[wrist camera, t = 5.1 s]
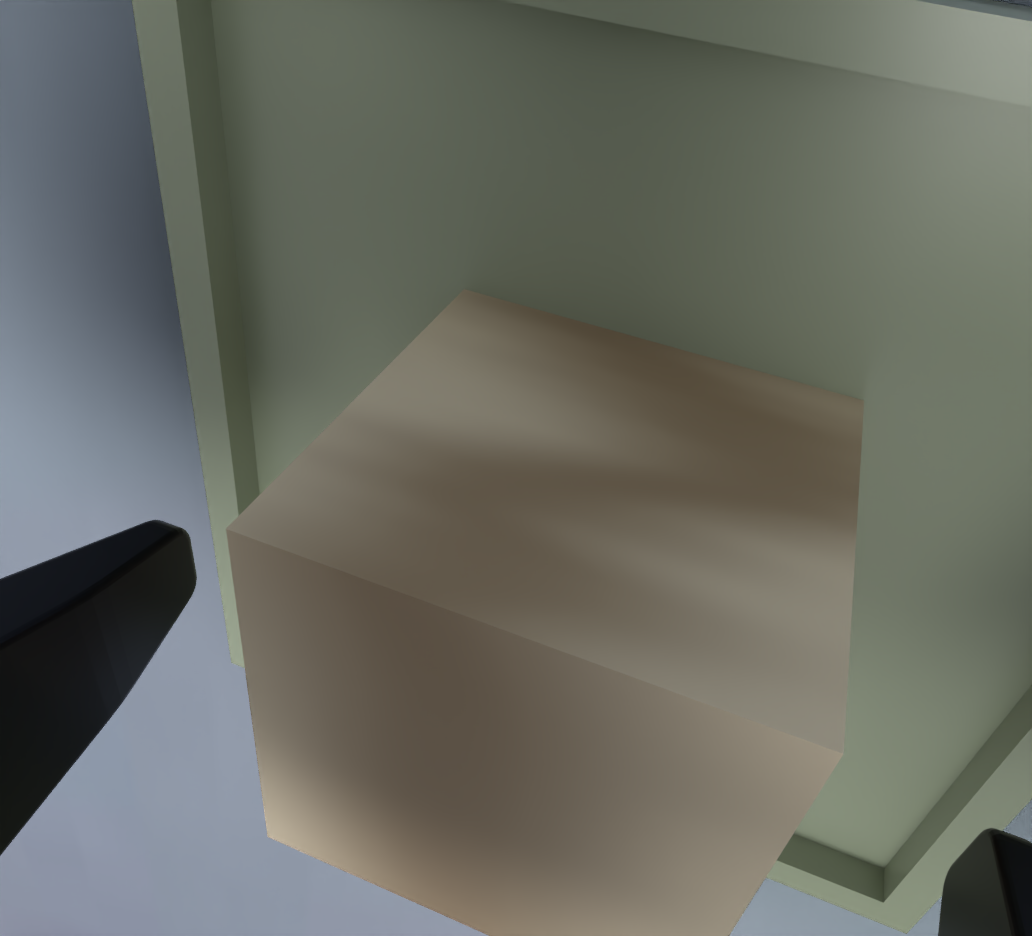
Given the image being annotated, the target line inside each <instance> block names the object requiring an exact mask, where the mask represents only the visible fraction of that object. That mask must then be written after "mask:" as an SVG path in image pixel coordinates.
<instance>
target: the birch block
mask: <svg viewBox="0 0 1032 936" xmlns="http://www.w3.org/2000/svg"><path fill="white" fill-rule="evenodd" d="M863 412H864V400H860V399H857V398H853V397H850V396H846V395H842V394H839V393H835V392H832V391H828V390H824V389H821V388H817V387H814V386H810V385H807V384H803V383H799V382H796V381H792V380H789V379H785V378H781V377H778V376H774V375H771V374H767V373H763V372H760V371H756V370H753V369H749V368H746V367H742V366H738V365H735V364H731V363H728V362H724V361H720V360H717V359H713V358H710V357H706V356H702V355H699V354H695V353H692V352H688V351H684V350H681V349H677V348H674V347H670V346H667V345H663V344H659V343H656V342H652V341H649V340H645V339H641V338H638V337H634V336H631V335H627V334H623V333H620V332H616V331H613V330H609V329H606V328H602V327H598V326H595V325H591V324H588V323H584V322H580V321H577V320H573V319H570V318H566V317H562V316H559V315H555V314H552V313H548V312H545V311H541V310H537V309H534V308H530V307H527V306H523V305H519V304H516V303H512V302H509V301H505V300H501V299H498V298H494V297H491V296H487V295H484V294H480V293H476V292H473V291H469V290H466V289H464V290H463V291H462V292H461V293H460V294H459V295H458V296H457V297H456V298H455V299H454V300H453V301H452V302H451V303H450V304H449V305H448V306H447V307H446V308H445V309H444V310H443V311H442V312H441V313H440V314H439V315H438V316H437V317H436V318H435V319H434V320H433V321H432V322H431V323H430V324H429V325H428V326H427V327H426V328H425V329H424V330H423V331H422V332H421V333H420V334H419V335H418V336H417V337H416V338H415V339H414V340H413V341H412V342H411V343H410V344H409V345H408V346H407V347H406V348H405V349H404V350H403V351H402V352H401V353H400V354H399V355H398V356H397V357H396V358H395V359H394V360H393V361H392V362H391V363H390V364H389V365H388V366H387V367H386V368H385V369H384V370H383V371H382V372H381V373H380V374H379V375H378V376H377V377H376V378H375V379H374V380H373V381H372V382H371V383H370V384H369V385H368V386H367V387H366V388H365V389H364V390H363V391H362V392H361V393H360V394H359V395H358V396H357V397H356V398H355V399H354V400H353V401H352V402H351V403H350V404H349V405H348V406H347V407H346V408H345V409H344V410H343V411H342V413H341V414H340V415H339V416H338V417H337V418H336V419H335V420H334V421H333V422H332V423H331V424H330V425H329V426H328V427H327V428H326V429H325V430H324V431H323V432H322V433H321V434H320V435H319V436H318V437H317V438H316V439H315V440H314V441H313V442H312V443H311V444H310V445H309V446H308V447H307V448H306V449H305V450H304V451H303V452H302V453H301V454H300V455H299V456H298V457H297V458H296V459H295V460H294V461H293V462H292V463H291V464H290V465H289V466H288V467H287V468H286V469H285V470H284V471H283V472H282V473H281V474H280V475H279V476H278V477H277V478H276V479H275V480H274V481H273V482H272V483H271V484H270V485H269V486H268V487H267V488H266V489H265V490H264V491H263V492H262V493H261V494H260V495H259V496H258V497H257V498H256V499H255V500H254V501H253V502H252V503H251V504H250V505H249V506H248V507H247V508H246V509H245V510H244V511H243V512H242V513H241V514H240V515H239V516H238V517H237V518H236V519H235V520H234V521H233V522H232V523H231V524H230V525H229V526H228V527H227V528H226V533H227V541H228V548H229V555H230V563H231V570H232V577H233V585H234V592H235V599H236V607H237V614H238V622H239V629H240V636H241V644H242V651H243V658H244V666H245V673H246V680H247V688H248V695H249V702H250V710H251V717H252V725H253V732H254V739H255V747H256V754H257V761H258V769H259V776H260V783H261V791H262V798H263V805H264V813H265V820H266V828H267V835H268V837H269V838H271V839H274V840H276V841H278V842H280V843H283V844H285V845H287V846H289V847H292V848H294V849H296V850H298V851H301V852H303V853H305V854H307V855H310V856H312V857H314V858H316V859H319V860H321V861H323V862H325V863H328V864H330V865H332V866H334V867H337V868H339V869H341V870H343V871H345V872H348V873H350V874H352V875H354V876H357V877H359V878H361V879H363V880H366V881H368V882H370V883H372V884H375V885H377V886H379V887H381V888H384V889H386V890H388V891H390V892H393V893H395V894H397V895H399V896H402V897H404V898H406V899H408V900H411V901H413V902H415V903H417V904H420V905H422V906H424V907H426V908H428V909H431V910H433V911H435V912H437V913H440V914H442V915H444V916H446V917H449V918H451V919H453V920H455V921H458V922H460V923H462V924H464V925H467V926H469V927H471V928H473V929H476V930H478V931H480V932H482V933H485V934H487V935H489V936H729V935H730V933H731V932H732V930H733V929H734V927H735V926H736V924H737V922H738V921H739V919H740V918H741V916H742V914H743V913H744V911H745V910H746V908H747V907H748V905H749V903H750V902H751V900H752V899H753V897H754V895H755V894H756V892H757V891H758V889H759V887H760V886H761V884H762V883H763V881H764V880H765V878H766V876H767V875H768V873H769V872H770V870H771V868H772V867H773V865H774V864H775V862H776V860H777V859H778V857H779V856H780V854H781V853H782V851H783V849H784V848H785V846H786V845H787V843H788V841H789V840H790V838H791V837H792V835H793V834H794V832H795V830H796V829H797V827H798V826H799V824H800V822H801V821H802V819H803V818H804V816H805V814H806V813H807V811H808V810H809V808H810V807H811V805H812V803H813V802H814V800H815V799H816V797H817V795H818V794H819V792H820V791H821V789H822V788H823V786H824V784H825V783H826V781H827V780H828V778H829V776H830V775H831V773H832V772H833V770H834V768H835V767H836V765H837V764H838V762H839V761H840V759H841V757H842V756H843V754H844V739H845V722H846V704H847V687H848V670H849V653H850V636H851V618H852V601H853V584H854V567H855V549H856V532H857V515H858V498H859V481H860V463H861V446H862V429H863Z"/></svg>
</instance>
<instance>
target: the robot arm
mask: <svg viewBox="0 0 1032 936" xmlns="http://www.w3.org/2000/svg"><path fill="white" fill-rule="evenodd" d="M196 580H197V576H196V569H195V563H194V558H193V552H192V546H191V540H190V537H189V534H188V533H187V532H186V531H185V530H184V529H182V528H180V527H177V526H174V525H172V524H169V523H166V522H164V521H160V520H152V521H148V522H145V523H142V524H140V525H137V526H134V527H132V528H129V529H127V530H124V531H122V532H119V533H117V534H114V535H111V536H109V537H106V538H104V539H101V540H99V541H96V542H93V543H91V544H88V545H86V546H83V547H81V548H78V549H76V550H73V551H70V552H68V553H65V554H63V555H60V556H58V557H55V558H52V559H50V560H47V561H45V562H42V563H40V564H37V565H35V566H32V567H29V568H27V569H24V570H22V571H19V572H17V573H14V574H11V575H9V576H6V577H4V578H1V579H0V855H1V854H2V853H3V852H4V850H5V849H6V848H7V847H8V845H9V844H10V843H11V842H12V840H13V839H14V838H15V837H16V835H17V834H18V833H19V832H20V830H21V829H22V828H23V827H24V825H25V824H26V823H27V822H28V821H29V819H30V818H31V817H32V816H33V814H34V813H35V812H36V811H37V809H38V808H39V807H40V806H41V804H42V803H43V802H44V801H45V799H46V798H47V797H48V796H49V794H50V793H51V792H52V791H53V789H54V788H55V787H56V786H57V784H58V783H59V782H60V781H61V779H62V778H63V777H64V776H65V774H66V773H67V772H68V771H69V769H70V768H71V767H72V766H73V764H74V763H75V762H76V761H77V759H78V758H79V757H80V756H81V754H82V753H83V752H84V751H85V749H86V748H87V747H88V746H89V744H90V743H91V742H92V741H93V739H94V738H95V737H96V736H97V734H98V733H99V732H100V731H101V729H102V728H103V727H104V726H105V724H106V723H107V722H108V721H109V719H110V718H111V717H112V715H113V714H114V713H115V711H116V710H117V709H118V708H119V706H120V705H121V704H122V702H123V701H124V699H125V698H126V697H127V695H128V694H129V692H130V691H131V689H132V688H133V686H134V685H135V683H136V682H137V680H138V679H139V677H140V676H141V674H142V672H143V671H144V669H145V668H146V666H147V665H148V663H149V662H150V660H151V659H152V657H153V655H154V654H155V652H156V651H157V649H158V648H159V646H160V645H161V643H162V641H163V640H164V638H165V637H166V635H167V634H168V632H169V631H170V629H171V628H172V626H173V624H174V623H175V621H176V620H177V618H178V617H179V615H180V614H181V612H182V610H183V609H184V607H185V606H186V604H187V603H188V601H189V600H190V598H191V596H192V594H193V592H194V589H195V586H196ZM938 936H1032V843H1031V842H1029V841H1027V840H1025V839H1023V838H1020V837H1017V836H1015V835H1012V834H1009V833H1006V832H1004V831H1001V830H998V829H995V828H989V829H985V830H983V831H982V832H981V833H980V834H979V835H978V836H977V837H976V838H975V839H974V840H973V842H972V843H971V844H970V845H969V846H968V847H967V848H966V849H965V850H964V852H963V853H962V854H961V855H960V856H959V857H958V858H957V859H956V860H955V862H954V863H953V864H952V865H951V867H950V868H949V870H948V872H947V875H946V878H945V881H944V885H943V893H942V903H941V913H940V922H939V932H938Z"/></svg>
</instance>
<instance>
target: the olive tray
mask: <svg viewBox="0 0 1032 936" xmlns="http://www.w3.org/2000/svg"><path fill="white" fill-rule="evenodd" d="M132 6H133V13H134V19H135V26H136V33H137V39H138V46H139V53H140V59H141V66H142V72H143V79H144V86H145V92H146V99H147V106H148V112H149V119H150V126H151V132H152V139H153V145H154V152H155V159H156V165H157V172H158V179H159V185H160V192H161V199H162V205H163V212H164V218H165V225H166V232H167V238H168V245H169V252H170V258H171V265H172V272H173V278H174V285H175V291H176V298H177V305H178V311H179V318H180V325H181V331H182V338H183V345H184V351H185V358H186V364H187V371H188V378H189V384H190V391H191V398H192V404H193V411H194V418H195V424H196V431H197V437H198V444H199V451H200V457H201V464H202V471H203V477H204V484H205V491H206V497H207V504H208V510H209V517H210V524H211V530H212V537H213V544H214V550H215V557H216V564H217V570H218V577H219V583H220V590H221V597H222V603H223V610H224V617H225V623H226V630H227V637H228V643H229V650H230V656H231V663H233V664H236V665H238V666H241V667H243V668H245V666H244V658H243V651H242V644H241V636H240V629H239V622H238V614H237V607H236V599H235V592H234V585H233V577H232V570H231V563H230V555H229V548H228V541H227V533H226V528H227V527H228V526H229V525H230V524H231V523H232V522H233V521H234V520H235V519H236V518H237V517H238V516H239V515H240V514H241V513H242V512H243V511H244V510H245V509H246V508H247V507H248V506H249V505H250V504H251V503H252V502H253V501H254V500H255V499H256V498H257V497H258V496H259V495H260V494H261V493H262V492H263V491H264V490H265V489H266V488H267V487H268V486H269V485H270V484H271V483H272V482H273V481H274V480H275V479H276V478H277V477H278V476H279V475H280V474H281V473H282V472H283V471H284V470H285V469H286V468H287V467H288V466H289V465H290V464H291V463H292V462H293V461H294V460H295V459H296V458H297V457H298V456H299V455H300V454H301V453H302V452H303V451H304V450H305V449H306V448H307V447H308V446H309V445H310V444H311V443H312V442H313V441H314V440H315V439H316V438H317V437H318V436H319V435H320V434H321V433H322V432H323V431H324V430H325V429H326V428H327V427H328V426H329V425H330V424H331V423H332V422H333V421H334V420H335V419H336V418H337V417H338V416H339V415H340V414H341V413H342V411H343V410H344V409H345V408H346V407H347V406H348V405H349V404H350V403H351V402H352V401H353V400H354V399H355V398H356V397H357V396H358V395H359V394H360V393H361V392H362V391H363V390H364V389H365V388H366V387H367V386H368V385H369V384H370V383H371V382H372V381H373V380H374V379H375V378H376V377H377V376H378V375H379V374H380V373H381V372H382V371H383V370H384V369H385V368H386V367H387V366H388V365H389V364H390V363H391V362H392V361H393V360H394V359H395V358H396V357H397V356H398V355H399V354H400V353H401V352H402V351H403V350H404V349H405V348H406V347H407V346H408V345H409V344H410V343H411V342H412V341H413V340H414V339H415V338H416V337H417V336H418V335H419V334H420V333H421V332H422V331H423V330H424V329H425V328H426V327H427V326H428V325H429V324H430V323H431V322H432V321H433V320H434V319H435V318H436V317H437V316H438V315H439V314H440V313H441V312H442V311H443V310H444V309H445V308H446V307H447V306H448V305H449V304H450V303H451V302H452V301H453V300H454V299H455V298H456V297H457V296H458V295H459V294H460V293H461V292H462V291H463V290H464V289H466V290H469V291H473V292H476V293H480V294H484V295H487V296H491V297H494V298H498V299H501V300H505V301H509V302H512V303H516V304H519V305H523V306H527V307H530V308H534V309H537V310H541V311H545V312H548V313H552V314H555V315H559V316H562V317H566V318H570V319H573V320H577V321H580V322H584V323H588V324H591V325H595V326H598V327H602V328H606V329H609V330H613V331H616V332H620V333H623V334H627V335H631V336H634V337H638V338H641V339H645V340H649V341H652V342H656V343H659V344H663V345H667V346H670V347H674V348H677V349H681V350H684V351H688V352H692V353H695V354H699V355H702V356H706V357H710V358H713V359H717V360H720V361H724V362H728V363H731V364H735V365H738V366H742V367H746V368H749V369H753V370H756V371H760V372H763V373H767V374H771V375H774V376H778V377H781V378H785V379H789V380H792V381H796V382H799V383H803V384H807V385H810V386H814V387H817V388H821V389H824V390H828V391H832V392H835V393H839V394H842V395H846V396H850V397H853V398H857V399H860V400H864V412H863V429H862V446H861V463H860V481H859V498H858V515H857V532H856V549H855V567H854V584H853V601H852V618H851V636H850V653H849V670H848V687H847V704H846V722H845V739H844V754H843V756H842V757H841V759H840V761H839V762H838V764H837V765H836V767H835V768H834V770H833V772H832V773H831V775H830V776H829V778H828V780H827V781H826V783H825V784H824V786H823V788H822V789H821V791H820V792H819V794H818V795H817V797H816V799H815V800H814V802H813V803H812V805H811V807H810V808H809V810H808V811H807V813H806V814H805V816H804V818H803V819H802V821H801V822H800V824H799V826H798V827H797V829H796V830H795V832H794V834H793V835H792V837H791V838H790V840H789V841H788V843H787V845H786V846H785V848H784V849H783V851H782V853H781V854H780V856H779V857H778V859H777V860H776V862H775V864H774V865H773V867H772V868H771V870H770V872H769V873H768V875H767V876H766V878H769V879H771V880H774V881H776V882H779V883H781V884H784V885H786V886H789V887H791V888H794V889H796V890H799V891H801V892H804V893H806V894H809V895H811V896H814V897H816V898H819V899H821V900H824V901H826V902H829V903H831V904H834V905H836V906H839V907H841V908H844V909H846V910H849V911H851V912H854V913H856V914H859V915H861V916H863V917H866V918H868V919H871V920H873V921H876V922H878V923H881V924H883V925H886V926H888V927H891V928H893V929H896V930H898V931H901V932H903V933H906V934H907V933H908V932H909V931H910V929H911V928H912V927H913V926H914V925H915V924H916V923H917V922H918V921H919V920H920V919H921V918H922V917H923V916H924V914H925V913H926V912H927V911H928V910H929V909H930V908H931V907H932V906H933V905H934V904H935V903H936V902H937V900H938V899H939V898H940V897H941V896H942V893H943V885H944V881H945V878H946V875H947V872H948V870H949V868H950V867H951V865H952V864H953V863H954V862H955V860H956V859H957V858H958V857H959V856H960V855H961V854H962V853H963V852H964V850H965V849H966V848H967V847H968V846H969V845H970V844H971V843H972V842H973V840H974V839H975V838H976V837H977V836H978V835H979V834H980V833H981V832H982V831H983V830H985V829H989V828H995V829H998V830H1001V831H1003V830H1004V828H1005V827H1006V826H1007V825H1008V824H1009V823H1010V822H1011V821H1012V820H1013V819H1014V818H1015V817H1016V816H1017V815H1018V813H1019V812H1020V811H1021V810H1022V809H1023V808H1024V807H1025V806H1026V805H1027V804H1028V803H1029V802H1030V801H1031V799H1032V7H1029V6H1023V5H1017V4H1012V3H1006V2H1000V1H995V0H132Z"/></svg>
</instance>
